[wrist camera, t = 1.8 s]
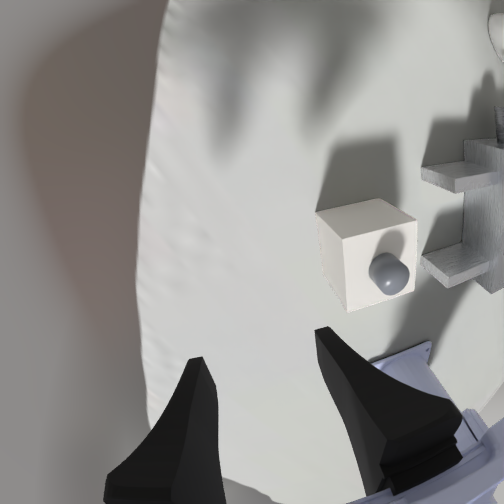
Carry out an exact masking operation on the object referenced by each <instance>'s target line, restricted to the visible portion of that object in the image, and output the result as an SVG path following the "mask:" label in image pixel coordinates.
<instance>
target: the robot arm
mask: <svg viewBox="0 0 504 504" xmlns="http://www.w3.org/2000/svg"><path fill="white" fill-rule="evenodd" d="M314 331H315V339H316V348H317V357H318V363H319V366H320V369H321V372H322V375H323V378H324V381H325V383H326V385H327V387H328V390H329V392H330V394H331V396H332V398H333V400H334V402H335V404H336V406H337V409H338V411H339V413H340V415H341V417H342V419H343V422H344V424H345V427H346V429H347V432H348V435H349V438H350V441H351V444H352V448H353V451H354V454H355V457H356V460H357V464H358V467H359V471H360V474H361V478H362V481H363V485H364V489H365V493H366V497H364V498H361V499H359V500H356V501H353V502H350V503H346V504H497V502H496V500H495V499H494V497H493V493H494V491H495V489H496V488H497V485H498V484H499V483H500V482H502V481H503V480H504V418H503V419H501V420H500V421H498V422H497V423H496V424H494V425H493V426H492V427H490V428H488V427H487V425H486V424H485V422H484V421H483V420H482V418H481V417H480V416H479V414H478V413H477V412H476V411H475V410H474V409H468V408H467V409H465V410H464V411H463V412H461V411H460V410H459V409H458V408H457V406H456V405H455V403H454V402H453V400H452V399H451V397H450V396H449V394H448V393H447V392H446V390H445V389H444V387H443V386H442V384H441V383H440V381H439V380H438V379H437V377H436V376H435V374H434V373H433V372H432V370H431V369H430V367H429V366H428V365H427V362H428V358H429V354H430V350H431V346H432V343H431V342H430V341H427V342H425V343H422V344H420V345H418V346H415V347H413V348H410V349H408V350H405V351H403V352H400V353H398V354H395V355H393V356H390V357H388V358H385V359H382V360H380V361H377V362H374V363H369V362H368V361H367V360H365V359H364V358H363V357H361V356H360V355H359V354H358V353H357V352H355V351H354V350H353V349H352V348H351V347H349V346H348V345H347V344H346V343H345V342H344V341H343V340H342V339H341V338H340V337H339V336H338V335H337V334H336V333H335V332H334V331H333V330H332V329H331V328H330V327H328V326H327V327H324V328H320V329H317V330H314ZM103 501H104V502H105V503H106V504H226V499H225V493H224V488H223V482H222V475H221V469H220V461H219V451H218V398H217V390H216V385H215V383H214V380H213V378H212V376H211V374H210V372H209V370H208V368H207V365H206V363H205V361H204V359H203V357H197V358H192V359H189V360H188V362H187V364H186V367H185V369H184V371H183V374H182V376H181V378H180V381H179V383H178V385H177V387H176V389H175V391H174V393H173V395H172V397H171V399H170V401H169V403H168V405H167V406H166V408H165V410H164V412H163V414H162V415H161V417H160V418H159V420H158V421H157V423H156V424H155V426H154V427H153V429H152V430H151V431H150V433H149V434H148V435H147V437H146V438H145V439H144V440H143V442H142V443H141V444H140V445H139V446H138V447H137V449H135V450H134V452H133V453H132V454H131V455H130V456H129V457H128V458H127V459H126V460H125V461H123V462H122V463H121V464H120V465H119V466H118V467H116V468H115V469H114V470H113V471H112V472H110V473H109V474H108V475H107V479H106V483H105V491H104V498H103Z"/></svg>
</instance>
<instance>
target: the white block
mask: <svg viewBox="0 0 504 504" xmlns="http://www.w3.org/2000/svg"><path fill="white" fill-rule="evenodd" d="M315 216H316V223H317V230H318V237H319V245H320V253H321V261H322V270H323V276H324V277H325V279H326V280H327V282H328V283H329V285H330V287H331V288H332V290H333V291H334V293H335V294H336V296H337V298H338V299H339V301H340V302H341V304H342V306H343V307H344V309H345V310H346V312H347V313H348V312H352V311H355V310H358V309H361V308H365V307H368V306H371V305H374V304H377V303H380V302H383V301H386V300H389V299H392V298H395V297H398V296H401V295H404V294H406V293H409V292H412V291H414V288H415V276H416V259H417V219H415V218H413V217H412V216H410V215H408V214H406V213H405V212H403V211H401V210H400V209H398V208H396V207H394V206H393V205H391V204H389V203H387V202H386V201H384V200H382V199H380V198H377V199H372V200H367V201H363V202H358V203H354V204H349V205H344V206H340V207H336V208H331V209H327V210H322V211H318V212H315Z"/></svg>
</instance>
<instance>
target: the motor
mask: <svg viewBox="0 0 504 504" xmlns="http://www.w3.org/2000/svg"><path fill="white" fill-rule="evenodd" d="M494 109H495V120H496V134H497V138H488V139H472V140H463V145H464V161H458V162H451V163H445V164H438V165H431V166H425V167H421V174H422V180H423V181H426V182H428V183H431V184H433V185H436V186H438V187H441V188H443V189H445V190H448V191H450V192H452V193H460V192H464V219H463V233H462V242H460V243H457V244H454V245H451V246H448V247H445V248H442V249H439V250H436V251H433V252H430V253H427V254H424V255H421V266H422V267H423V268H424V269H425V270H427V271H428V272H429V273H430V274H431V275H432V276H434V277H435V278H436V279H437V280H438V281H439V282H440V283H442V284H443V285H444V286H445V287H446V288H447V289H448V288H450V287H453V286H455V285H458V284H460V283H462V282H465V281H467V280H469V279H473V280H475V281H476V282H477V283H478V284H480V285H481V286H482V287H483V288H484V289H486V290H487V291H488V292H489V293H490V294H493V293H494V292H496V291H498V290H500V289H502V288H504V107H494Z"/></svg>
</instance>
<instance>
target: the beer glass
mask: <svg viewBox="0 0 504 504" xmlns="http://www.w3.org/2000/svg"><path fill="white" fill-rule="evenodd" d="M488 29H489V35H490V38H491V41H492V44H493V47H494V49H495V51H496V53H497V54H498V56H499V58H500V59H501V60H502V62H503V63H504V13H493V14H492V15H491V16H490V17H489V21H488Z"/></svg>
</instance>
